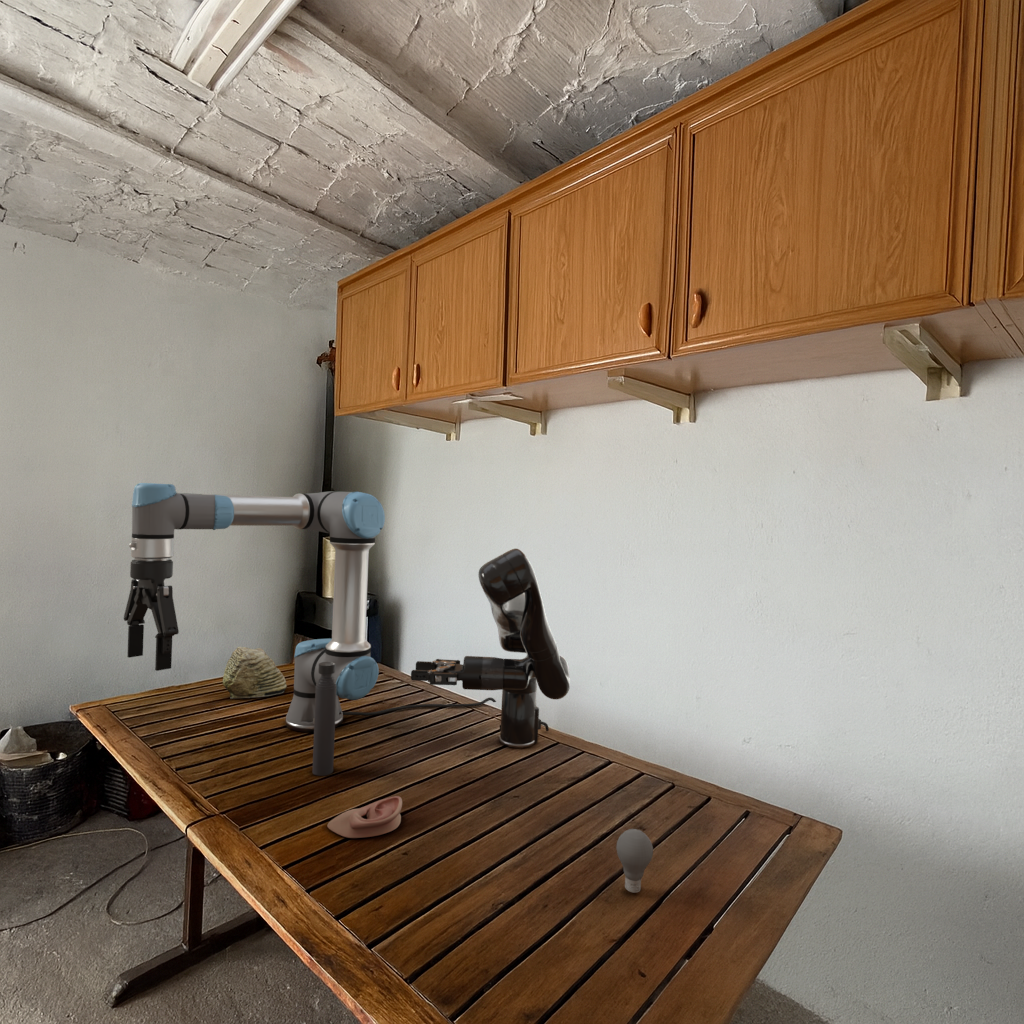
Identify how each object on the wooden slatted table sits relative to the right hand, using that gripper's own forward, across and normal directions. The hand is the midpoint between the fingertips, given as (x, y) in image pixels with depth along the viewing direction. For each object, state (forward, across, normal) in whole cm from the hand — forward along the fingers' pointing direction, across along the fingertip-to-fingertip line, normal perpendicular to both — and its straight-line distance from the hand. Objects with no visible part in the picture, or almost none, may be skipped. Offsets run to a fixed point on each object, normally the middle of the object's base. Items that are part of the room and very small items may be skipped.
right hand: (413, 670), depth 146 cm
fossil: (+55, -54, +23) cm, 80 cm away
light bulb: (-43, +42, +25) cm, 65 cm away
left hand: (+52, +15, -3) cm, 55 cm away
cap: (+20, 0, 0) cm, 20 cm away
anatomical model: (+5, +23, +25) cm, 34 cm away
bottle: (+20, 0, +24) cm, 31 cm away
